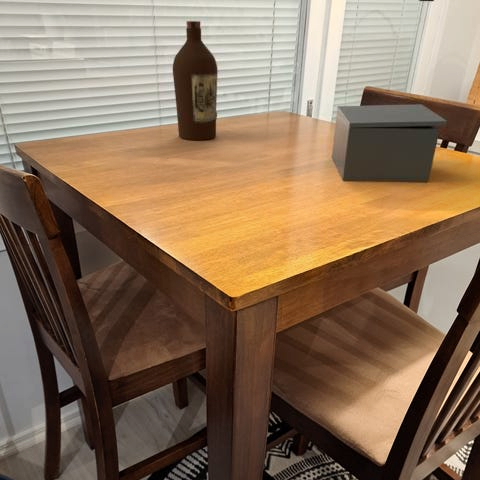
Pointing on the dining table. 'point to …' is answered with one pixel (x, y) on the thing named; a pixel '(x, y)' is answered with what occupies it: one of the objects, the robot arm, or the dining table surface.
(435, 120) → the lid
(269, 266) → the dining table surface
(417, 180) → the chest
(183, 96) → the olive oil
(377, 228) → the dining table surface
